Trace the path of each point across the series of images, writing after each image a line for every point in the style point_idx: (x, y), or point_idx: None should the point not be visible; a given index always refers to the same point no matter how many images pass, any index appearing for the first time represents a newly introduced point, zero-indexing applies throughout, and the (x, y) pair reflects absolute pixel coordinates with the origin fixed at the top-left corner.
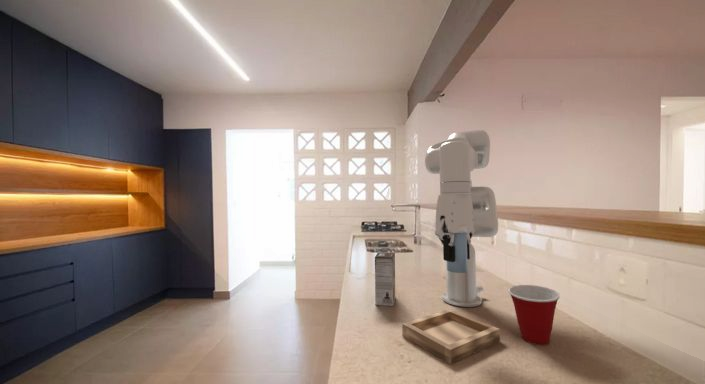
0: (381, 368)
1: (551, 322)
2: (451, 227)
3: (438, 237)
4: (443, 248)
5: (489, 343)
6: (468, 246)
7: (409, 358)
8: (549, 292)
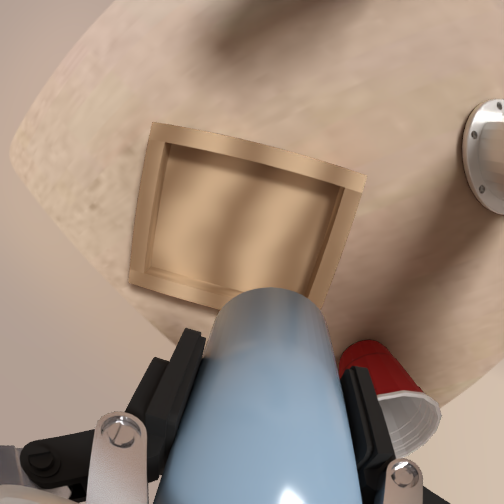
0: (49, 185)
1: None
2: None
3: (11, 446)
4: (158, 387)
5: None
6: None
7: (99, 200)
8: (412, 442)
